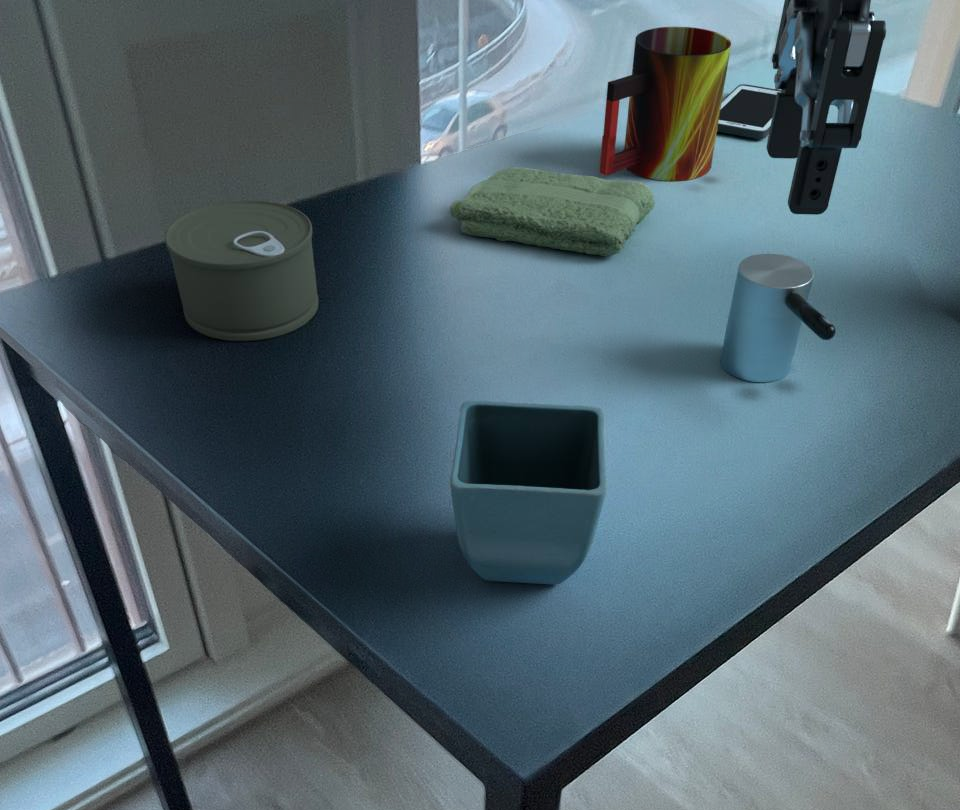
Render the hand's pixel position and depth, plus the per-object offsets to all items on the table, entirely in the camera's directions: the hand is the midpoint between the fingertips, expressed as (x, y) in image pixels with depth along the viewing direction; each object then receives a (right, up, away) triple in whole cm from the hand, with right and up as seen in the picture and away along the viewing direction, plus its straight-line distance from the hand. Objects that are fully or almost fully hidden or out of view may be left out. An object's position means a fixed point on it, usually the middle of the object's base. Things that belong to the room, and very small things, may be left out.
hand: (793, 182), depth 62 cm
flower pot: (-17, -23, +3) cm, 29 cm away
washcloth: (-12, +13, +38) cm, 42 cm away
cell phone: (+13, +34, +58) cm, 69 cm away
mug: (0, +23, +47) cm, 52 cm away
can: (-39, +1, +26) cm, 47 cm away
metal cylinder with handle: (+4, -8, +18) cm, 20 cm away
